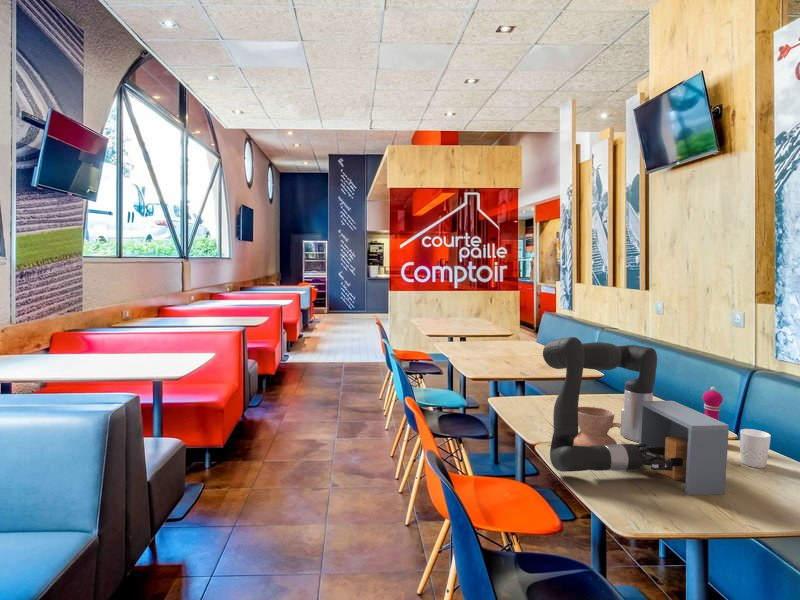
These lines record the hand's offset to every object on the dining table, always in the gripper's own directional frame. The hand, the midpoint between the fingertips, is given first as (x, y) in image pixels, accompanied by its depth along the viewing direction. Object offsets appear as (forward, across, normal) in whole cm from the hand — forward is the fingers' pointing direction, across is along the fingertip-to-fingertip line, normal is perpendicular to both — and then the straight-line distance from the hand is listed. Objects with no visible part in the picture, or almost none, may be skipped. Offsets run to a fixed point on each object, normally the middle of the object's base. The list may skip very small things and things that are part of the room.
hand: (672, 456), depth 151 cm
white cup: (+32, +7, +6) cm, 33 cm away
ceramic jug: (-15, +20, +6) cm, 26 cm away
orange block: (+2, 0, +6) cm, 6 cm away
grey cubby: (+2, 0, +6) cm, 6 cm away
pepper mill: (+31, +26, +6) cm, 41 cm away
